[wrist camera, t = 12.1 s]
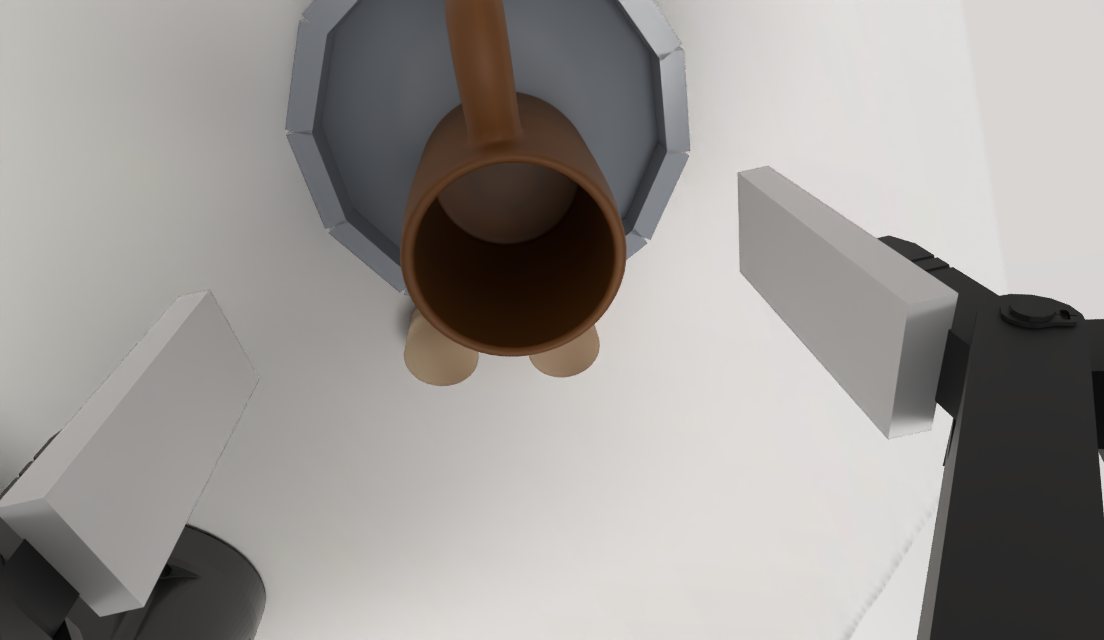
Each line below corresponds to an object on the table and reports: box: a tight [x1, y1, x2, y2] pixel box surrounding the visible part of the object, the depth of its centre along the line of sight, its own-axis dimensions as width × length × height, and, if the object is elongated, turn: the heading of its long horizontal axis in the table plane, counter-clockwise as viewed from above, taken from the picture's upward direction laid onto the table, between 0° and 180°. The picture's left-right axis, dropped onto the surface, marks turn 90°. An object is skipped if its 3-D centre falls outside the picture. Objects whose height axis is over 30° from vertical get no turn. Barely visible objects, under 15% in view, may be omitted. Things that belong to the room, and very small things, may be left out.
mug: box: [400, 0, 627, 356], centre depth 22 cm, size 12×8×9 cm, turn 7°
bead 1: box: [404, 308, 478, 386], centre depth 31 cm, size 4×4×3 cm
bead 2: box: [529, 324, 600, 377], centre depth 31 cm, size 4×4×3 cm
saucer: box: [285, 0, 690, 296], centre depth 26 cm, size 16×16×2 cm
